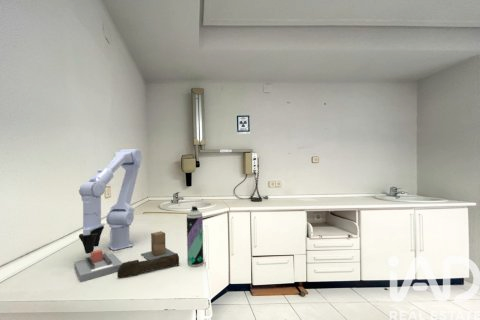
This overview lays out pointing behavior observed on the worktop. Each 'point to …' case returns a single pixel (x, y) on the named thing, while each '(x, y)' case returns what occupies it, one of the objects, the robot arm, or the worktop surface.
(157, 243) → the tan wooden post
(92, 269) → the panel
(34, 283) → the worktop surface
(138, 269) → the hand tool
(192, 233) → the spray can
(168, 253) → the mat
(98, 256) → the lever
